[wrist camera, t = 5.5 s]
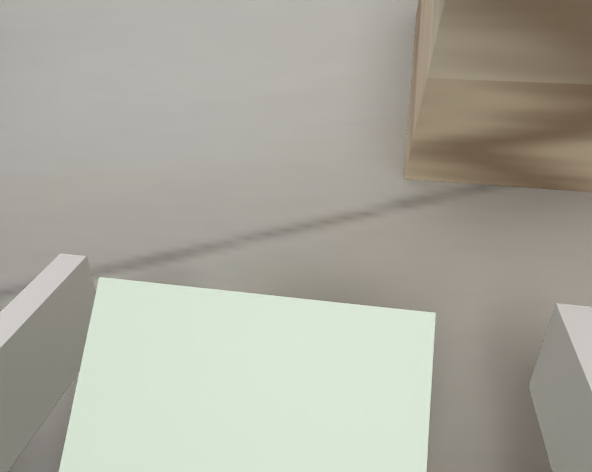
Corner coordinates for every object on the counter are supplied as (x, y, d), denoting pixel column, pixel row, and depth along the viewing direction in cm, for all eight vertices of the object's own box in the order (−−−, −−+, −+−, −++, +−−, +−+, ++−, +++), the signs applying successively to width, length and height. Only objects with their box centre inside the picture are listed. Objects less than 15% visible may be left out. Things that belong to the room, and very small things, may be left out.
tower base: (404, 178, 19) (427, 77, 12) (416, 14, 21) (442, -155, 14) (606, 192, 18) (754, 90, 11) (603, 19, 20) (730, -162, 13)
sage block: (229, 475, 17) (20, 655, 7) (250, 326, 18) (99, 276, 8) (379, 499, 17) (410, 744, 6) (391, 342, 18) (435, 312, 7)
